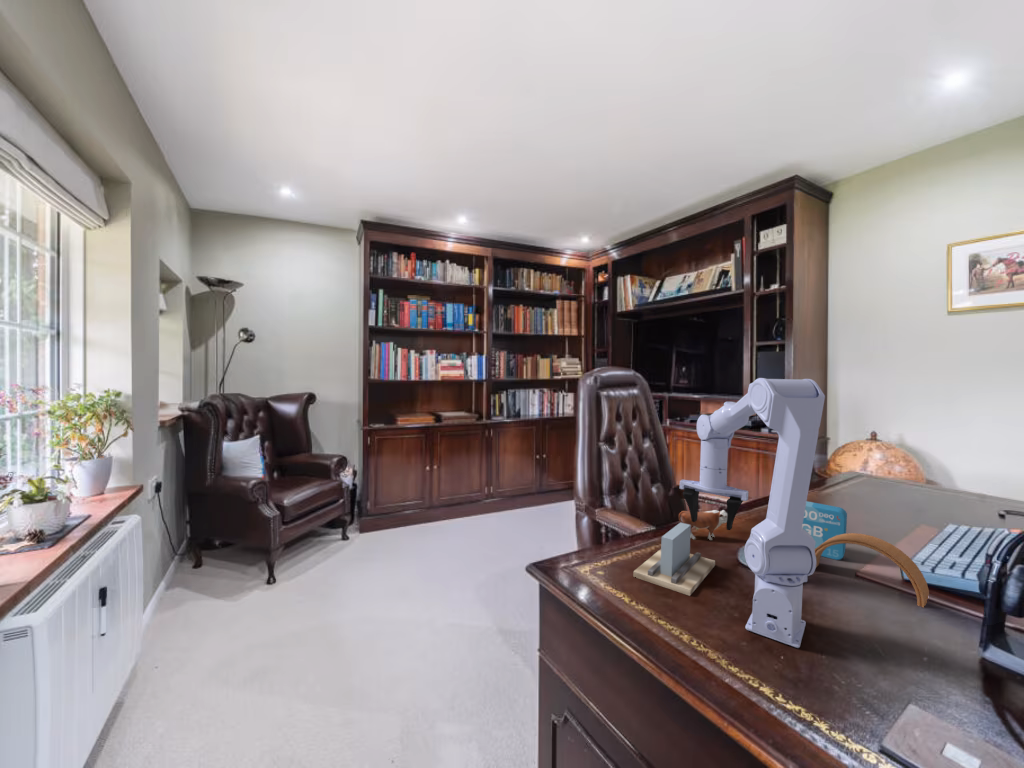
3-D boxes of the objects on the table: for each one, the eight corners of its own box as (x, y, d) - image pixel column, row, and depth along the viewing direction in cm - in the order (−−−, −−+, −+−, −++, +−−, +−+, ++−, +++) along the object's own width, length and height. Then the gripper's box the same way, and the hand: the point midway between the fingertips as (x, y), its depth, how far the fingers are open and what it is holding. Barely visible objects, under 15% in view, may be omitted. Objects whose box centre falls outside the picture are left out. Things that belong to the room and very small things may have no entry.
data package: (785, 547, 112) (787, 501, 112) (788, 542, 116) (790, 498, 115) (843, 562, 104) (845, 512, 104) (845, 556, 108) (847, 508, 107)
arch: (814, 563, 103) (816, 522, 103) (929, 599, 88) (932, 550, 87) (805, 569, 100) (807, 527, 100) (923, 608, 84) (926, 558, 84)
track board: (689, 595, 87) (690, 585, 87) (633, 576, 95) (633, 566, 94) (714, 565, 101) (715, 556, 101) (663, 551, 108) (663, 542, 108)
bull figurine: (732, 543, 114) (733, 513, 114) (678, 538, 117) (679, 508, 116) (728, 537, 118) (729, 507, 118) (676, 532, 121) (677, 504, 121)
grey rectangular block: (671, 576, 92) (672, 539, 92) (660, 573, 94) (661, 536, 94) (689, 558, 102) (690, 524, 101) (679, 555, 103) (680, 522, 103)
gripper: (752, 469, 99) (749, 527, 100) (687, 459, 108) (685, 513, 109) (745, 474, 94) (742, 536, 94) (677, 464, 103) (675, 520, 103)
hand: (711, 524), depth 101 cm, fingers open, 7 cm apart
